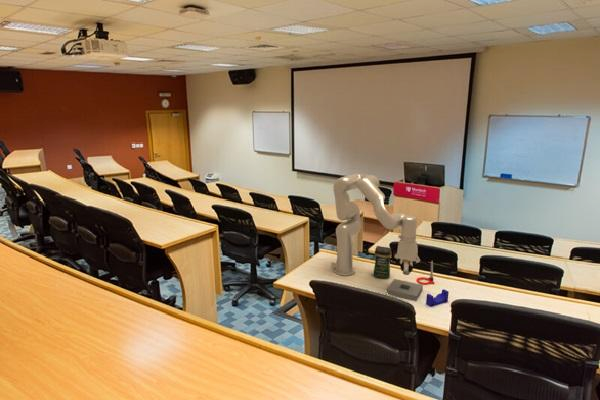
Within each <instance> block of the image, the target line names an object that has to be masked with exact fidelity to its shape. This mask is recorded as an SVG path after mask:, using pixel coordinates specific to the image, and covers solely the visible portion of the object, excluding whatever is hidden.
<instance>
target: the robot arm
mask: <svg viewBox="0 0 600 400" xmlns="http://www.w3.org/2000/svg"><path fill="white" fill-rule="evenodd" d="M379 186H380V180H379V178H378V177H377V176H375V175H372V174H362V173H352V174H349V175H345V176H341V177H340V178H337V179H336V180H335V182H334V184H333V188H332V189H333V195H334V203H335V210H336V217H337V219H338V220H339V221H341V223H340V224H338V225H337V226H336V228H335V234H336V262H333V261H332V262H331V263H330V265H331V268H332V267H333V268H334V273H335V274H336V275H339V276H345V277H346V276H352V275H354V274H355V271H356V269H355V267H353V264H354V263H353V261H354V260H353V259H354V256H353V255H354V242H353V240H352V237H353V236H355V235H357V234H359V233H360V232H361V229H362V221H361V212H360V207H359V205H358V204H357V203H356V202H354V201H350V195H349V193H348V191H351V190H355V189H358V190H359V191H360V193H362V195H363V196H364V197H365V198H366V199H367V200H368V201H369V203H370V204H371V205H372V208H373V212H374V215H375V217H376V219H377V221H379V222H380V224H381V225H382V226H383V227H384V228H385V229H387V230H389V231H390V230H391V231H393V230H395V229H397V228H400V227H401V229H400V231H401V233H400V235H399V234H398V237H397V238H398V239H399V241H398V244H397V250H396V254H395V255H394V258H395V259H396V260H397V261H398V263H399V266H400V271H401V272H403V261H404V260H407V261H410V266H409V273H412V272H413V270H414V265H416V264H418V263H420V262H421V259H420V257H419V255H418V253H419V252H418V250H419V249H418V242H417V241H416V240H417V224H418V219H417V217H416V216H414V215H411V214H410V215H409V214H405V213H403V212H394V213H391V214H390V213H389V211H388V210H387V209H386V207H385V205H384V204H385V198H386V196H385V194H384V192H383V191H381V189H380V188H379ZM342 221H343V222H342Z"/></svg>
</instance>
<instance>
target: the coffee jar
mask: <svg viewBox="0 0 600 400" xmlns="http://www.w3.org/2000/svg"><path fill="white" fill-rule="evenodd" d="M374 256H375V261H374V268H373V277H374V278H375V277H376V278H379V279H383V280H384V279H389V278H390V276H391V265H390V264H391V263H390V262H391V256H392V248H391V247H388V246H379V245H377V246H376V247H375V250H374Z"/></svg>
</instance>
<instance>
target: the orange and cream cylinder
mask: <svg viewBox="0 0 600 400" xmlns="http://www.w3.org/2000/svg"><path fill="white" fill-rule="evenodd" d="M409 266H410V261H407V260H404V261H403V271H402V275H405V276H409V275H410V273H409Z"/></svg>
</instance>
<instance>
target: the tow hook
mask: <svg viewBox="0 0 600 400" xmlns="http://www.w3.org/2000/svg"><path fill="white" fill-rule="evenodd" d="M422 280H424V281H425V280H426V281H427V282H423V281H422ZM416 282H417V283H416V284H420V285H423V286H427V285H428V286H429V285H435V282H434V263H433V260H431V264H430V273H429V277H427V276H426V277H425V276H422V277H421V276H420V277H417V278H416Z"/></svg>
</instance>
